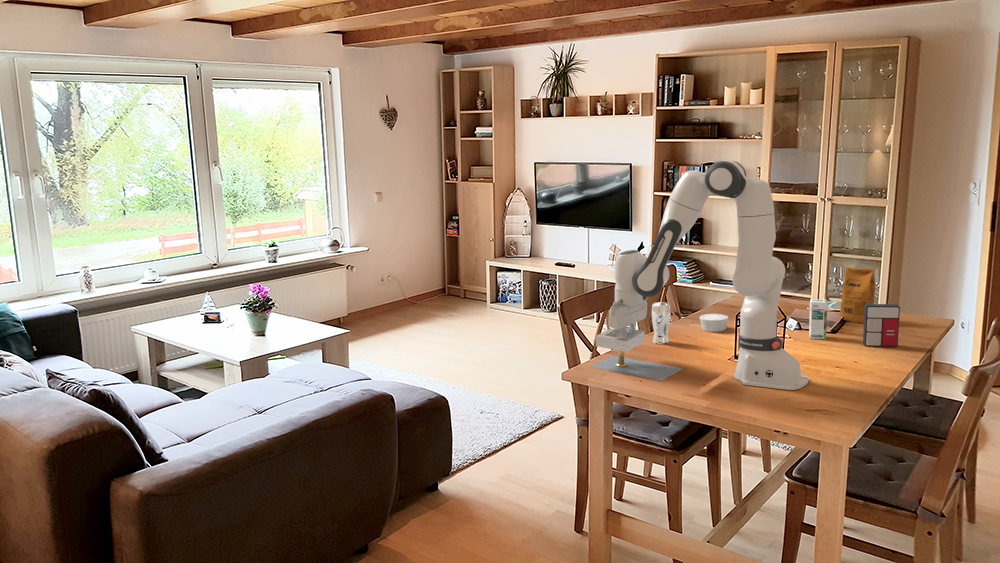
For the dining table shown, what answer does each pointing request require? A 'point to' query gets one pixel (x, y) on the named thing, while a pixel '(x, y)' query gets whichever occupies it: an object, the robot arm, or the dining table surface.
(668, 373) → the keeper board
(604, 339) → the grey recessed tray
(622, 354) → the brass peg
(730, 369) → the dining table surface
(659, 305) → the beer glass
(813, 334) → the syrup box
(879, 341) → the calculator
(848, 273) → the coffee package
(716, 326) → the ramekin
